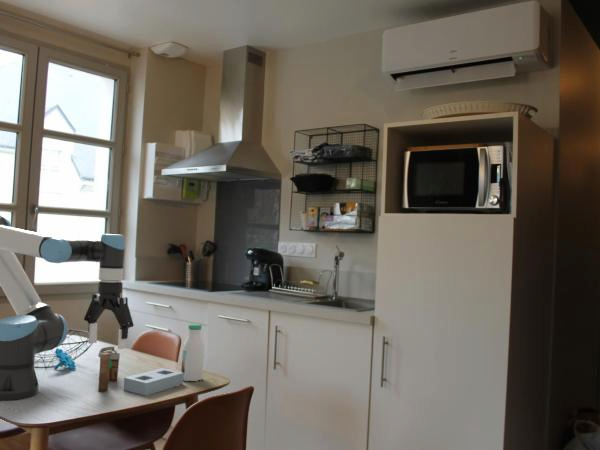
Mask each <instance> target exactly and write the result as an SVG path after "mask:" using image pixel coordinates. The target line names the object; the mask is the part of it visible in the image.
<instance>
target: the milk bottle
mask: <svg viewBox="0 0 600 450" xmlns="http://www.w3.org/2000/svg"><path fill="white" fill-rule="evenodd" d="M201 331H202V324H201V323H189V324H188V334H187V337H186V339H185V341H184V343H183V348H182V357H181V371H180V372H182V373H184V376H183V380H184V381H183V382H188V381H196V382H199V381H198V380H200V381H202V380H201V379H203V375H204V358H205V345H204V340H203V338H202V333H201Z"/></svg>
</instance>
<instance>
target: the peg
mask: <svg viewBox="0 0 600 450" xmlns="http://www.w3.org/2000/svg"><path fill="white" fill-rule="evenodd" d="M109 367H110V353H101V358H100V357H99V372H98V373H99V377H98V388H97V392H99V393H105V392H108V391H109V383H110V381H109Z"/></svg>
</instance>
